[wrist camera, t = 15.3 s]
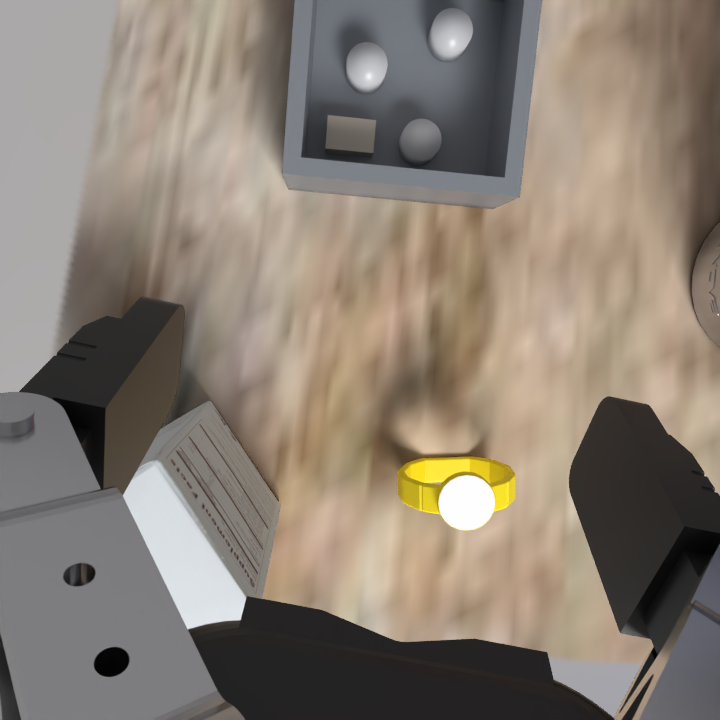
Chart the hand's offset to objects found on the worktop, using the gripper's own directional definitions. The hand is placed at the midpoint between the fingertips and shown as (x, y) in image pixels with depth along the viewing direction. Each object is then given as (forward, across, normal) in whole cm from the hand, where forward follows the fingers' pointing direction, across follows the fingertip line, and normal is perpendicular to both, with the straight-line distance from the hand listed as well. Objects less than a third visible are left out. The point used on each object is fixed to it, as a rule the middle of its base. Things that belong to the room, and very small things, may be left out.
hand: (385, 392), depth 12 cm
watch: (+19, -7, +16) cm, 26 cm away
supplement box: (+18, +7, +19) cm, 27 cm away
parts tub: (+26, 0, -2) cm, 26 cm away
